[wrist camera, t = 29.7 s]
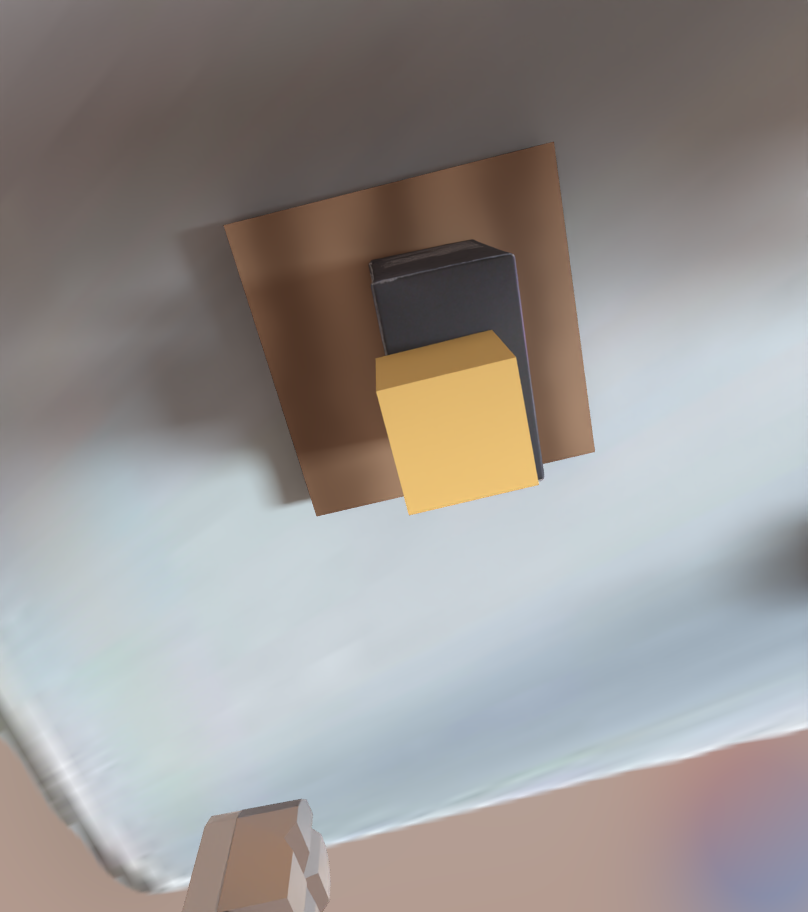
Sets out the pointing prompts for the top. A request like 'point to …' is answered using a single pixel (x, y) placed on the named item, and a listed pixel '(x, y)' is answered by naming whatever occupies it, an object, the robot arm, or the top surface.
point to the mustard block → (456, 421)
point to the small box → (454, 305)
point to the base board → (355, 321)
